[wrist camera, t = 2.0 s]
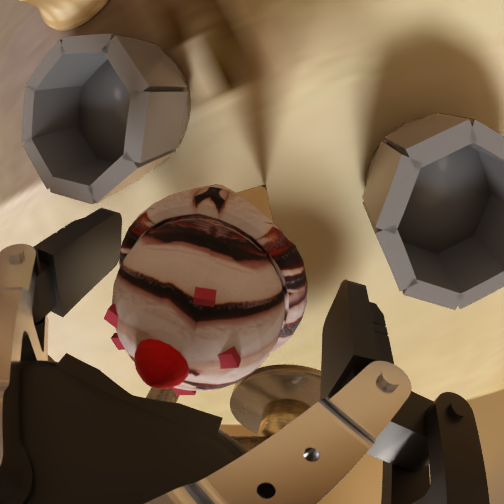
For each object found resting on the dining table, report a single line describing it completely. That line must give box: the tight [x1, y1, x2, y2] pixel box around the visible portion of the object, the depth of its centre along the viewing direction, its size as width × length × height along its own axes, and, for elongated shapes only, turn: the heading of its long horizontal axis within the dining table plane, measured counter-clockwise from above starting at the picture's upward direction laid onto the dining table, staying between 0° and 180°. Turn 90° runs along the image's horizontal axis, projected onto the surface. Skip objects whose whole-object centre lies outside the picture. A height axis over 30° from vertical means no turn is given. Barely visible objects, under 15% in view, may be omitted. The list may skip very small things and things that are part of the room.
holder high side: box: [22, 33, 190, 204], centre depth 16 cm, size 9×9×6 cm
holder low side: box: [363, 113, 504, 310], centre depth 14 cm, size 9×9×6 cm
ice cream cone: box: [104, 184, 307, 395], centre depth 12 cm, size 6×6×15 cm
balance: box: [48, 355, 321, 452], centre depth 17 cm, size 8×21×15 cm, turn 77°
